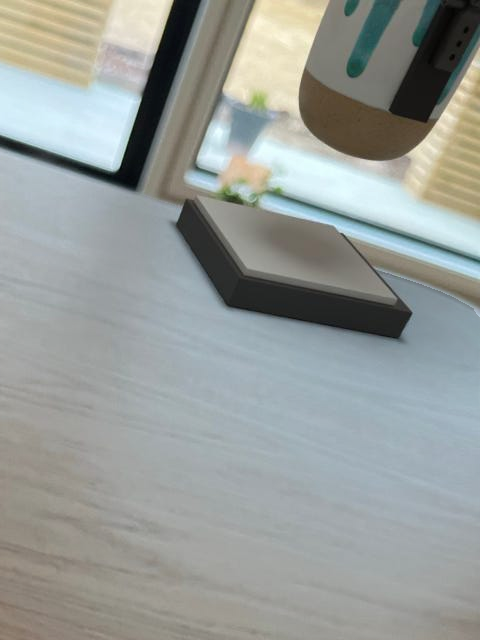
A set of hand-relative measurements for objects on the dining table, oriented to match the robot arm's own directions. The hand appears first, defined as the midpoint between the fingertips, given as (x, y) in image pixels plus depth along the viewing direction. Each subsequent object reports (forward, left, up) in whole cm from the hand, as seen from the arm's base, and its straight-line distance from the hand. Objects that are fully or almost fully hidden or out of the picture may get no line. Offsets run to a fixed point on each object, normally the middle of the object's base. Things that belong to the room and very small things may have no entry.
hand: (373, 88), depth 74 cm
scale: (0, 0, -15) cm, 15 cm away
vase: (0, 0, -5) cm, 5 cm away
